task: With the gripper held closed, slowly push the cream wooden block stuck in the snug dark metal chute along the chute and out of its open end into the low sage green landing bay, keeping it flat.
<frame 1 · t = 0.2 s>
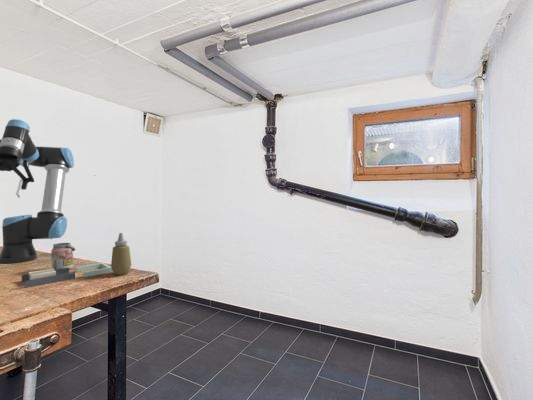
beverage can: (63, 269, 134), on the workbench
chute: (48, 279, 118), on the workbench
block: (42, 281, 117), on the workbench
landing bay: (92, 271, 130), on the workbench
squeeze bottle: (121, 274, 128), on the workbench
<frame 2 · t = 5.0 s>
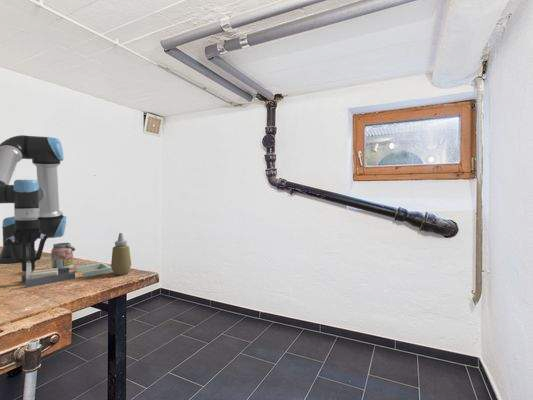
hand: (28, 278, 114), 2 cm above the workbench, tool pointing down, fingers closed
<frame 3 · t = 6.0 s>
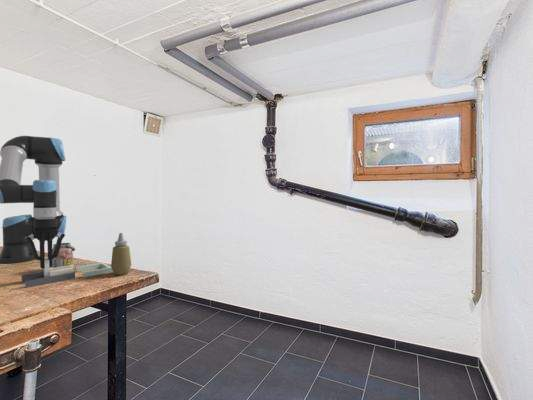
hand: (46, 275, 118), 2 cm above the workbench, tool pointing down, fingers closed
block: (60, 277, 122), on the workbench, touching gripper
everything else where it was.
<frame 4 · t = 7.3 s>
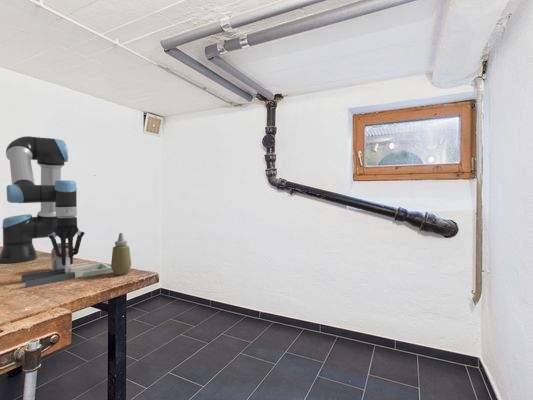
hand: (67, 271, 123), 2 cm above the workbench, tool pointing down, fingers closed
block: (80, 274, 127), on the workbench, touching gripper
everything else where it was.
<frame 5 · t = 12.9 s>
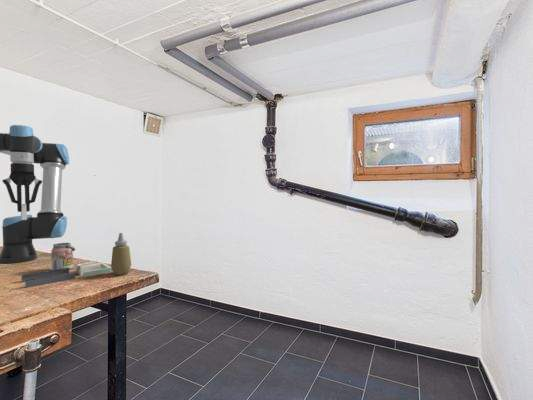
hand: (23, 219, 121), 24 cm above the workbench, tool pointing down, fingers closed
block: (89, 272, 129), on the workbench
everything else where it was.
at the end: block inside the target area (2.1 cm from its centre), on the workbench; block tilted 0° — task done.
